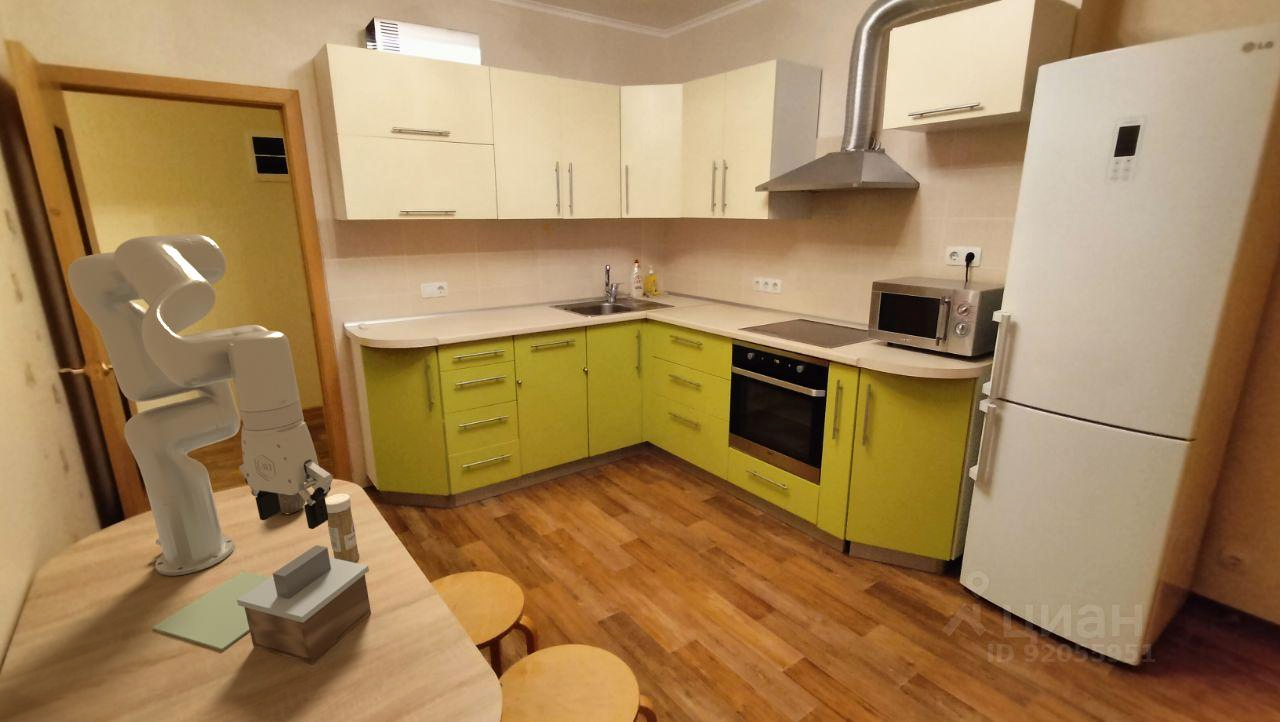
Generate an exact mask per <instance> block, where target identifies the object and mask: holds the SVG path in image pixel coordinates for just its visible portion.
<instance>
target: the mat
mask: <svg viewBox="0 0 1280 722" xmlns="http://www.w3.org/2000/svg"><path fill="white" fill-rule="evenodd" d="M271 577H272V576H271ZM271 577H270V576H267V575H266V576H265V575H262V574H258V573H253V572H250V571H245V570H242V571H241V572H240V573H238V574H236V575H234V576H233V577H232V578H230V579H228V580H226V581H225V582H224V583H222V584H220V585H219V586H217V587H216V588H214V589H212V590H210V591H208V592H207V593H206V594H204V595H202V596H200V597H199V598H197V599H195V600H194V601H193V602H191V603H189V604H188V605H186V606H185V607H183V608H181V609H180V610H178V611H177V612H175V613H173V614H172V615H170V616H169V617H167V618H165V619H163V620H162V621H160V622H159V623H157V624H156V625H154V626H152V627H151V628H152V630H153V631H157V632H160V633H163V634H166V635H170V636H173V637H176V638H180V639H182V640H186V641H188V642H189V641H190V642H194V643H196V644H200V645H203V646H205V647H208V648H212V649H216V650H219V651H225V650H226V649H228V648H229V647H230V646H232V645H233V644H234V643H236V642H237V641H238V640H240V639H241V638H242V637H244V636H245V635H247V634H248V633H250V629H249V625H248V621H247V616H246V612H245V608H244V607H242V606H239V605H238V603H237V599H239V598H240V597H242V596H243V595H245V594H246V593H248V592H249V591H251V590H252V589H254V588H255V587H257V586H258V585H260V584H261V583H263V582H264V581H266V580H268V579H269V578H271Z"/></svg>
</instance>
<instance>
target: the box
mask: <svg viewBox="0 0 1280 722" xmlns="http://www.w3.org/2000/svg"><path fill="white" fill-rule="evenodd" d="M370 603H371V602H370V598H369V592H368V586H367V580H366V574H364V575H363V576H362V577H361V578H359V579H358V580H357V581H356V582H354V583H353V584H352V585H350V586H349V587H348V588H347V589H345V590H344V591H343V592H342V593H340V594H339V595H338V596H336V597H335V598H334V599H333V600H331V601H330V602H329V603H327V604H326V605H325V606H324V607H322V608H321V609H320V610H319V611H317V612H316V613H315V614H313V615H312V616H311V617H310V618H308V619H307V620H306V621H305V622H303V623H302V622H299V621H295V620H291V619H287V618H284V617H280V616H276V615H272V614H269V613H265V612H261V611H257V610H254V609H250V608H246V607H244V608H245V612H246V616H247V621H248V625H249V629H250V631H249V633H250V639H251V642H252V647H253V649H254V648H255V649H258V650H262V651H265V652H268V653H271V654H275V655H279V656H281V657H285V658H288V659H292V660H295V661H298V662H302V663H305V664H309V665H314V664H315V663H316V662H317V661H318V660H319V659H321V658H322V657H323V656H324V655H325V654H326V653H327V652H329V651H330V650H331V649H332V648H333V647H335V645H336V644H338V643H339V642H340V641H341V640H342V639H343V638H345V637H346V636H347V635H348V634H349V633H350V632H351V631H353V629H355V628H356V627H357V626H358V625H359V624H360V623H362V622H363V621H364V620H365V619H366V618H368V616H369V615H371V614H372V611H371V606H370V605H371V604H370Z"/></svg>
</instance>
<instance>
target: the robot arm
mask: <svg viewBox="0 0 1280 722" xmlns="http://www.w3.org/2000/svg"><path fill="white" fill-rule="evenodd" d="M226 272H227V260H226V257H225V254H224V252H223V251H222V249H221V247H220V246H219V245H218V244H217V242H216V241H214V240H212V239H211V238H210V237H207V236H205V235H202V234H195V233H192V234H190V233H189V234H173V235H171V234H169V235H146V236H139V237H134V238H130V239H128V240H125V241H124V242H123V241H122V243H120V244H119V246H117V247H116V249H115V250H114V251H111V252H102V253H101V252H100V253H95V254H91V255H90V254H89V255H86V256H82V257H79V258H77V259H75V260H74V261H72V262H71V264H70V265H69V266H68V271H67V276H68V277H67V279H68V283H69V286H70V287H69V288H70V290H71V292H72V295H73V296H74V298H75V300H76V302H77V303H78V304H79V306H80V307H81V308H82V310H83V311H84V312H85V313H86V315H87V316H88V317H89V319H90V320H91V321H92V322H93V324H94V326H95V327H96V328H97V329H98V331H99V333H100V335H101V338H102V340H103V344H104V346H105V349H106V352H107V355H108V357H109V361H110V364H111V367H112V370H113V372H114V375H115V379H116V381H117V384H118V386H119V388H120V390H121V392H122V394H123V395H124V397H126V398H127V399H128V400H130V401H132V402H137V403H141V402H151V401H157V400H161V399H166V398H169V397H173V396H179V395H182V394H186V393H191V392H196V393H197V394H198V395H199V396H198V397H194V398H190V399H185V400H182V401H175V402H172V403H169V404H165V405H161V406H156V407H153V408H149V409H146V410H143V411H141V412H139V413H136V414H135V415H133V416H131V418H129V419H128V421H127V422H126V423H125V425H124V431H123V433H124V438H125V440H126V443H127V446H128V447H129V449H130V452H131V453H132V454H133V457H134V458H135V461H136V463H137V465H138V468H139V470H140V475H141V476H142V480H143V483H144V486H145V490H146V493H147V496H148V501H149V505H150V508H151V509H150V510H151V511H152V512H151V513H152V517H153V520H154V524H155V527H156V531H157V534H158V538H157V539H156V540H155V544H156V546H161V551H162V553H163V554H161V555H160V556H159V557H158V558H157V560H156V562H155V564H154V565H155V569H156V572H157V573H159V574H160V575H163V576H170V577H172V576H175V577H176V576H183V575H188V574H193V573H195V572H196V573H197V572H199V571H203V570H205V569H208V568H210V567H212V566H214V565H216V564H218V563H220V562H221V561H223V560H225V559H226V558H227V557H228V556H230V555H231V553H232V552H233V551H234V549H235V546H236V544H235V541H234V538H233V537H231V536H229V535H223V532H222V527H221V523H220V518H219V514H218V509H217V505H216V500H215V496H214V492H213V488H212V484H211V480H210V475H209V471H208V469H207V468H206V466H205V465H204V464H203V463H202V462H200V461H199V460H196V459H194V458H192V457H190V456H189V455H188V453H189V452H192V451H194V450H197V449H200V448H203V447H206V446H209V445H213V444H215V443H219V442H221V441H225V440H228V439H231V438H232V437H234V436H236V434H238V432H239V431H240V428H241V420H242V425H243V426H242V428H241V451H242V454H241V455H242V462H243V463H242V464H241V465H239V466H238V467H239V470H240V472H241V474H242V476H243V477H244V478H245V479H244V480H245V481H244V482H245V483H246V485H247V486H248V487H249V488H250V489H251V491H250V493H251V495H252V496H253V497H254V498H255V501H256V502H255V504H256V508H257V512H258V515H259V519H260V521H266V520H268V519H270V518H272V517H273V516H275V515H277V514H280V513H279V512H280V511H281V507H280V503H279V498H278V493H279V494H286V495H294V494H297V493H299V494H300V495H301V496H302V498H303V499H304V500H305V501H306V502H305V504H304V506H303V508H304V512H305V517H306V523H307V526H308V529H310V530H314V529H315V528H317V527H319V526H321V525H322V524H325V523H326V522H328V521H327V520H328V512H327V507H326V501H325V499H326V498H328V494H329V492H330V491H331V485H332V482H333V475H332V474H331V473H330V472H329V471H327V470H325V469H324V468H323V467H320V465H319V461H318V457H317V456H318V455H317V453H316V449H315V446H314V445H315V444H314V442H313V439H312V435H311V432H310V431H309V429H308V425H307V423H306V422H305V421H304V420H305V417H304V413H303V407H302V403H301V398H300V391H299V387H298V381H297V377H296V371H295V366H294V361H293V355H292V351H291V346H290V342H289V338H288V337H287V336H286V334H284V333H283V332H281V331H277V330H268V329H267V328H266V327H264V326H261V325H258V324H248V325H247V324H246V325H240V326H239V325H238V326H235V327H228V328H220V329H214V330H209V331H208V330H207V331H204V332H203V331H202V332H196V333H190V334H186V335H179V333H180V332H183V331H184V330H186V329H187V328H189V327H191V326H192V325H193V326H194V324H196V323H197V322H200V321H201V320H202V319H204V318H205V317H206V316H208V315H209V313H210V312H212V309H213V308H214V306H215V304H216V301H217V293H216V291H215V288H214V287H213V285H215V284H217V283H219V282H220V281H221V280H222V279H223V278H224V277H225V274H226ZM140 300H143V301H144V302H145V303H146V304H147V306H148V308H147V309H146V308H145V307H144V306H143V305H140V304H138V303H137V302H134V301H140ZM230 380H232V381H233V385H234V387H235V388H234V390H235V393H236V397H237V402H238V406H237V402H236V400H235V395H234V392H233V389H232V387H231V386H232V385H231V383H230ZM238 407H239V410H238ZM310 488H312V489H313V492H312V493H311V492H310V491H309V490H308V489H310Z"/></svg>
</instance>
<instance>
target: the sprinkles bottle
mask: <svg viewBox="0 0 1280 722" xmlns="http://www.w3.org/2000/svg"><path fill="white" fill-rule="evenodd" d="M325 501H326V507H327V512H328V520H327V521H326V522H327V527H328V533H329V539H330V540H329V541H330V545H331V550H332V552H333V558H335V559H340V560H344V561H349V562H353V563H356V562H357V561H358V560H359V559H360V556H361V555H360V553H359V549H358V548H359V547H358V542H357V536H356V530H355V524H354V523H355V522H354V520H353V519H354V518H353V514H352V510H351V509H352V507H351V506H352V502H351V496H350V495H349V494H347V493H337V494H333V495H330V496H327V497H326V498H325Z"/></svg>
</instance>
